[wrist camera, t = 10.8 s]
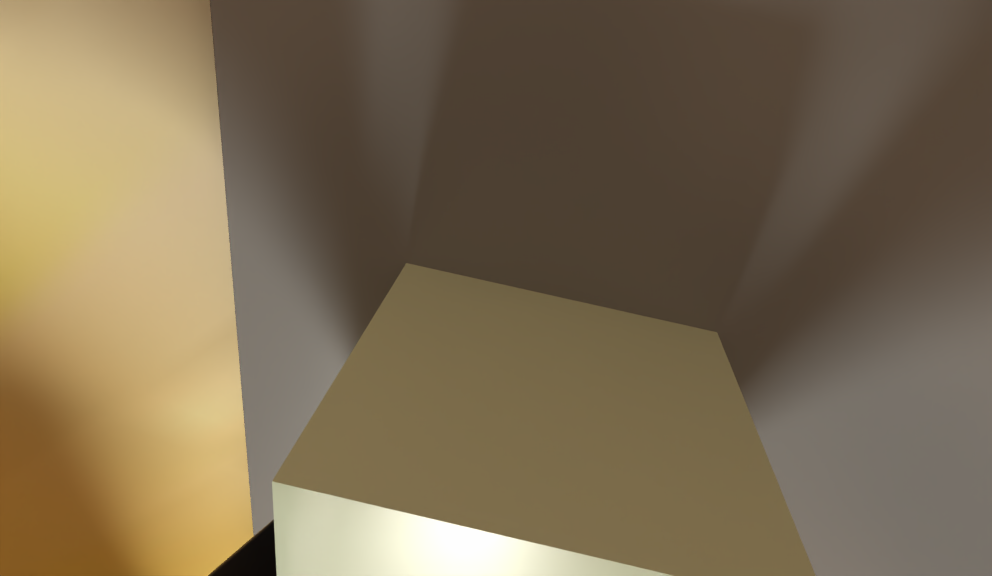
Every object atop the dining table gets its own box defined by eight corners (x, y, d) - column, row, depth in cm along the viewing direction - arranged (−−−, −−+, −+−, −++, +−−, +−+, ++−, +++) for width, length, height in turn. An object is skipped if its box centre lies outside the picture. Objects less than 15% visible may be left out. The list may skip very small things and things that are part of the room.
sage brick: (406, 262, 8) (272, 481, 4) (717, 331, 8) (830, 611, 4) (375, 551, 11) (288, 797, 8) (589, 601, 11) (594, 875, 8)
